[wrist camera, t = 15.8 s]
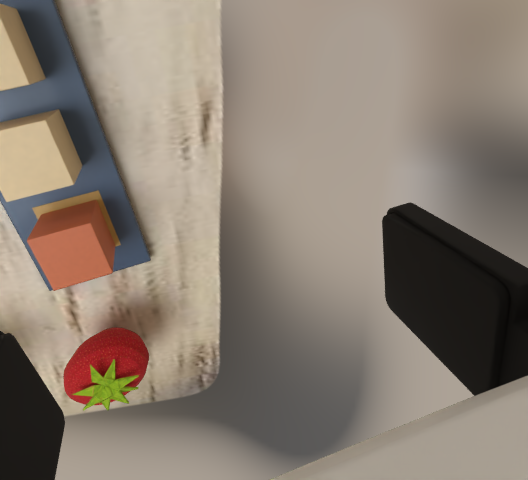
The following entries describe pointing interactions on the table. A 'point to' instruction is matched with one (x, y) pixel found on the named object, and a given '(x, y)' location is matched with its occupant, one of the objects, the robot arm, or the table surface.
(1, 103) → the rack
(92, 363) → the strawberry
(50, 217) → the orange block
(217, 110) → the table surface
